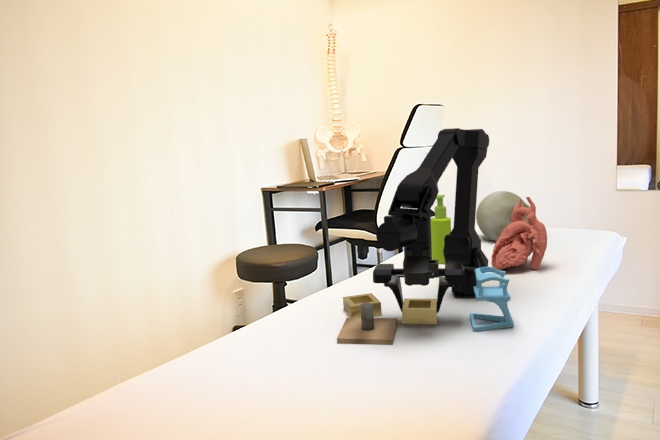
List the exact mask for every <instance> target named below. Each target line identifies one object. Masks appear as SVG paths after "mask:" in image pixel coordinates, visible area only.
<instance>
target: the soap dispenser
mask: <svg viewBox="0 0 660 440" xmlns="http://www.w3.org/2000/svg"><path fill="white" fill-rule="evenodd" d="M445 196H446V195H445V194H438V195H437V197H436V206H435V207H434V208H433V209H434V212H435V216H434V217H431V245H432V260H438V263H439V265H445V259H444V255H443V249H444V238H445V236H446V235H449V234H450V232H451V231H452V220H451V217H447V206H445V205H444V198H445Z"/></svg>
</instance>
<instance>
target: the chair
mask: <svg viewBox="0 0 660 440" xmlns="http://www.w3.org/2000/svg"><path fill="white" fill-rule="evenodd" d="M474 272H475V277H476V281H477V284H476V286H474V293H475V296H476V297H475V301H476V302H479V301H480V302H481V301H482V302H483V301H485V302H489V303H494V304H496V305H497V306H498V308H499V309H500V311H501V313H502V315H494V314H493V315H492V314H485V313H475V312H474V313H472V312H471V313H469V320H470V323H471V328H472V331H473V332H482V331H488V330H489V331H490V330H498V329H505V328H506V327H507V328H513V326H514V327H515V324H514V323H515V322H514V319H513V317H512V315H511V312H510V309H509V307H508V302H510V301H511V295H510V292H509V291H508V284H509V283H510V280H511V279H510V278H506V277H505V276H506V275H505V274H506V272H507V271H505V270H497V269H495V268H493V267H491V266H488V267H481V268H477V269H475V270H474ZM491 281H497V282H499V285H497V286H496V285H495V286H482V285H483V284H484V283H487V282H491ZM475 319H480V320H485V321H492V322H494V323H487V324H480V325H476V322H475ZM500 321H502V322H500Z"/></svg>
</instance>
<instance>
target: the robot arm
mask: <svg viewBox="0 0 660 440" xmlns="http://www.w3.org/2000/svg"><path fill="white" fill-rule="evenodd" d="M489 145H490V136H489V134H488V133H486V131H485V130H484V129H483V128H473V129H463V128H462V129H461V128H459V127H458V128H457V127H453V128H443V129H441V130H440V131H438V133H437V139H436V140H435V142H434V143H433V145H432V146H431V148H430V149H429V151H428V152H427V154H426V155H425V157H424V158H423V161H421V164H420V165H419V167H418V168H417V169H416V170H414V171H412V172H410V173H409V174H406V176H404V178H403V179H402V180H401V181H400V182H399V183H398V185H397V187H396V191H395V193H394V195H393V198H392V201H391V204H390V207H389V209H388V213H387V215H385V216H384V217H383V222H382V223H381V224H379V226H378V228H377V231H376V233H375V236H376V240H377V241H376V242H377V243H378V245H379V247H380V248H381V249H383V250H384V251H387V252H394V251H397V250H399V249H402V248H403V260H402V268H395V266H394V263H377V264H376V266H374V268H373V271H372V283H373V284H383V286H384V287H385V288H389V289H390V290H391V291H392V293H393V295H394V297H395V300H396V302H397V304H398V307H399V310H400V312H401V313H402V307H403V302H404V297H403V288H402V282H401V278H402V279H404V284H405V286H408V287H409V286H411V287H412V286H421V287H423V286H425V287H426V286H429V284H430V280H431V279H432V280H433V279H435V278H438V287H437V295H436V296H437V297H436V299H437V306H436V307H437V314H439V312H440V309H441V306H442V303H443V299H444V296H445V294H446V292H447V290H448V289H449V288H451V293H452V294H453V297H454V298H476V296H475V293H474V286H476V284H477V281H476V277H475V272H474V270H475V269H477V268H481V267H489V259H488V258H487V256H486V255H485V253H484V251H483V250H482V240H481V238H480V236H479V234H478V233H477V230H476V212H477V195H478V182H479V181H478V179H479V168H480V166H481V165H482V163H483V162H484V160H485V159H486V158H487V154H488V148H489ZM452 160H453V162H454V164H455V165H456V180H455V181H456V182H455V195H454V198H455V199H454V211H453V212H454V214H453V227H452V228H451V232H450V234H449V235H446V236H445V238H444V249H443V255H444V259H445V264H444V268H441V267H439V266H440V264H439V263H438V260H432V245H431V218H434V217H435V210H432V209H431V208H432V206H434V204H435V201H437V199H436V197H437V195H439V191H440V190H439V185H438V183H439V181H440V179H441V177H442V176H443V174H444V172H445V171H446V169H447V167H448V165H449V164H450V162H451V161H452Z"/></svg>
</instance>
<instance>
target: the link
mask: <svg viewBox="0 0 660 440" xmlns="http://www.w3.org/2000/svg"><path fill="white" fill-rule="evenodd" d="M342 301H343V302H342V303H343V310H344V312H345V313H346V315H347V316H348V318H361V308H360V305H361V304H363V303H372V304H373V313H374V317H379V316H382V302H381V301H380V300H379V299H378V298H377V297H376V296H375V295H374V294H373V293H372V292H368V293H364V294H356V295H350V296H349V295H348V296H342Z"/></svg>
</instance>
